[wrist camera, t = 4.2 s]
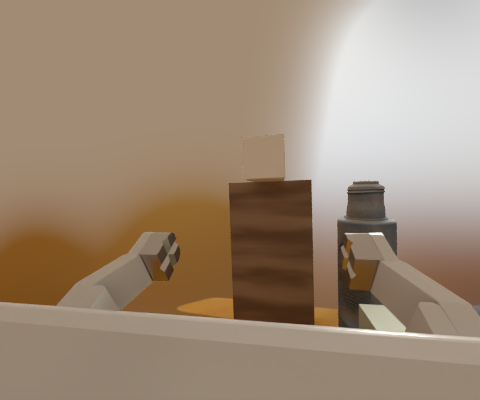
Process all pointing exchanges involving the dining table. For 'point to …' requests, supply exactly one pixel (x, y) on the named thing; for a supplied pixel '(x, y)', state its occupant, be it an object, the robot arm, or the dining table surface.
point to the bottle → (361, 221)
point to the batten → (263, 158)
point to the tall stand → (272, 251)
